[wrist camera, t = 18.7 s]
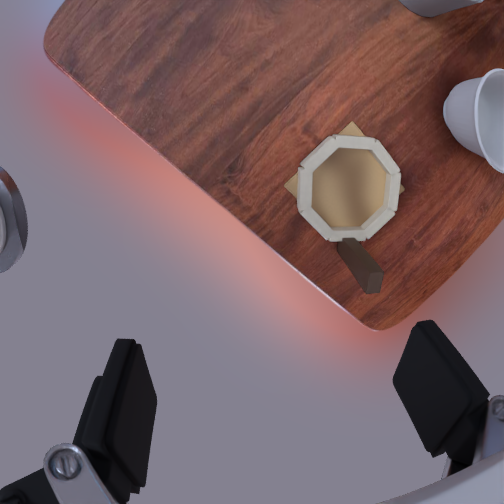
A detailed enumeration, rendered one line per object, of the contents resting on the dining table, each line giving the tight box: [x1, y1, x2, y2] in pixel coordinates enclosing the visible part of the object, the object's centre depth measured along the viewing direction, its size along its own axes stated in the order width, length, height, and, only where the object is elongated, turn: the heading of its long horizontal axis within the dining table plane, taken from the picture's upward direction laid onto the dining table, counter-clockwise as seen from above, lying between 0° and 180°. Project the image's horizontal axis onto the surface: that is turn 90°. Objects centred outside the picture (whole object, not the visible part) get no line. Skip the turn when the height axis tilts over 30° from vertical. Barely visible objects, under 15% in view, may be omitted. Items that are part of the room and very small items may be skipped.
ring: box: [297, 134, 401, 294], centre depth 30 cm, size 14×12×10 cm
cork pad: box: [284, 121, 405, 242], centre depth 35 cm, size 11×11×1 cm
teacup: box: [443, 69, 504, 173], centre depth 27 cm, size 12×15×10 cm
